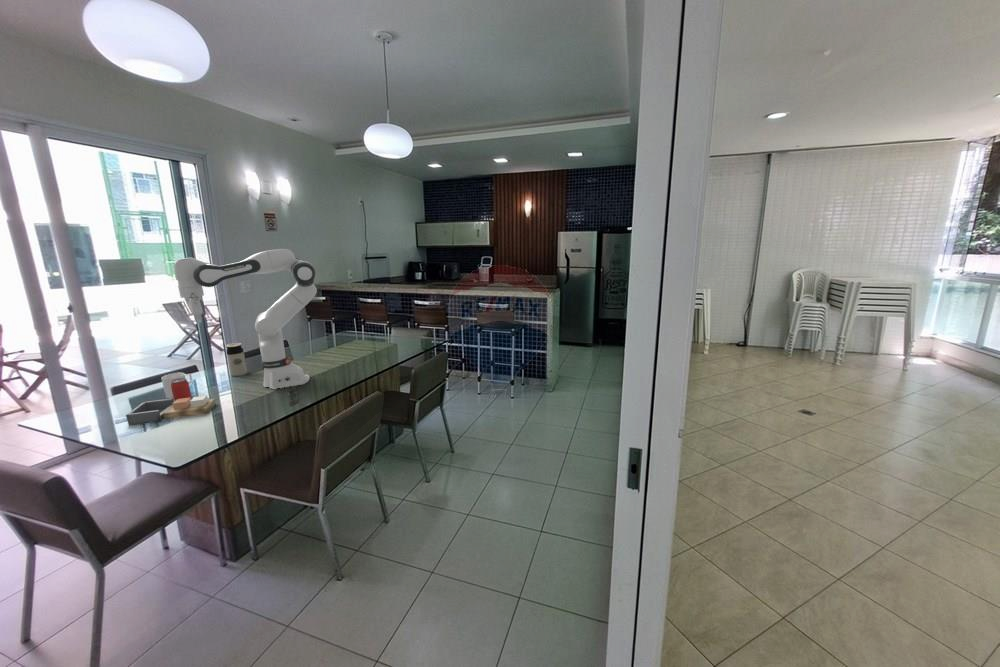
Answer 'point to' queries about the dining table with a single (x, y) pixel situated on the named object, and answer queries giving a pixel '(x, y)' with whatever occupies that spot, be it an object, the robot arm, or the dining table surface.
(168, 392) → the mug
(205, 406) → the wooden board
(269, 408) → the dining table surface
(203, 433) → the dining table surface
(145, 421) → the box
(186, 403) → the tile terracotta
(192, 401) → the tile ivory
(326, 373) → the dining table surface
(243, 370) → the travel mug
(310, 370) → the dining table surface
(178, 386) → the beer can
